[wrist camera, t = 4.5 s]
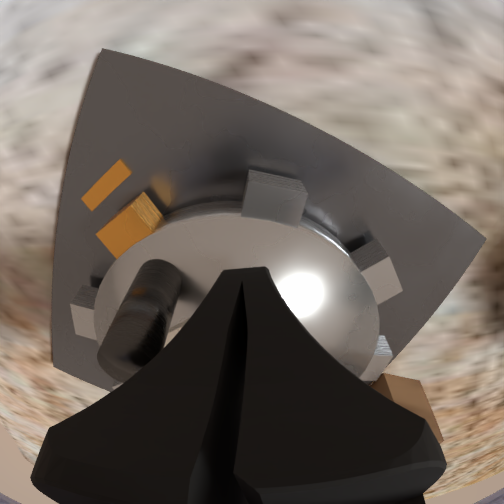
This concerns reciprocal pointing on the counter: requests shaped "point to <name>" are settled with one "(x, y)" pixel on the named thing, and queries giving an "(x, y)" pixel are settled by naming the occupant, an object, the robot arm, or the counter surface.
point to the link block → (408, 398)
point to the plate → (234, 191)
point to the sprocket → (233, 257)
